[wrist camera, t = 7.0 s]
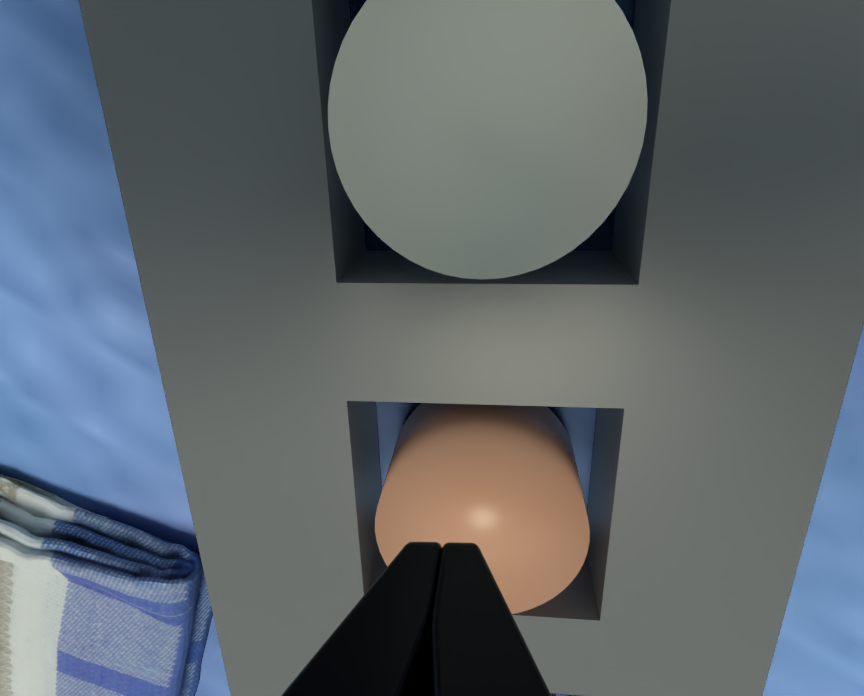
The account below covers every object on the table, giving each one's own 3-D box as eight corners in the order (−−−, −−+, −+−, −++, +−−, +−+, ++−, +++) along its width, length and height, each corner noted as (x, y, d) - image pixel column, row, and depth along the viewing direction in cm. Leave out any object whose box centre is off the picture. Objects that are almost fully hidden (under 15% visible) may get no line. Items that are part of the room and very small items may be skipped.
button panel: (893, -177, 11) (1026, -271, 8) (683, 783, 22) (711, 883, 19) (138, -124, 13) (37, -188, 10) (289, 747, 23) (261, 834, 20)
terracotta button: (580, 385, 15) (598, 447, 12) (568, 539, 17) (581, 622, 14) (390, 381, 16) (368, 439, 13) (399, 530, 18) (380, 609, 15)
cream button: (624, -28, 11) (667, -74, 8) (601, 242, 13) (629, 280, 10) (357, -16, 11) (312, -54, 9) (373, 242, 13) (341, 278, 10)
